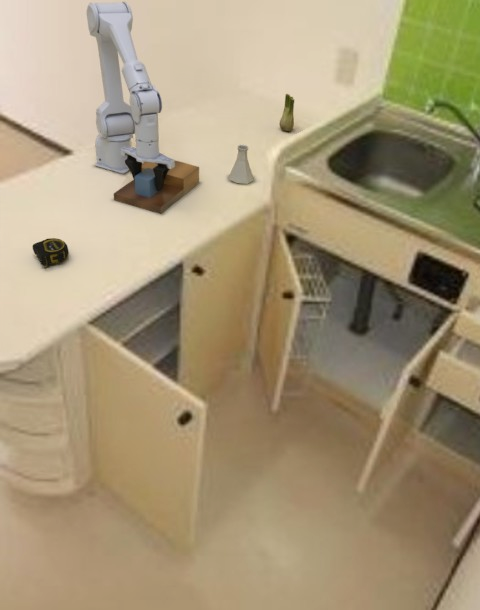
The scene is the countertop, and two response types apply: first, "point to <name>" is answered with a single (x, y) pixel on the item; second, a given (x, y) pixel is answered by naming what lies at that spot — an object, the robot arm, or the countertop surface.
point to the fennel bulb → (287, 114)
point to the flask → (241, 167)
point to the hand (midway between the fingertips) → (149, 186)
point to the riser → (173, 189)
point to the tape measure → (51, 251)
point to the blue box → (146, 183)
